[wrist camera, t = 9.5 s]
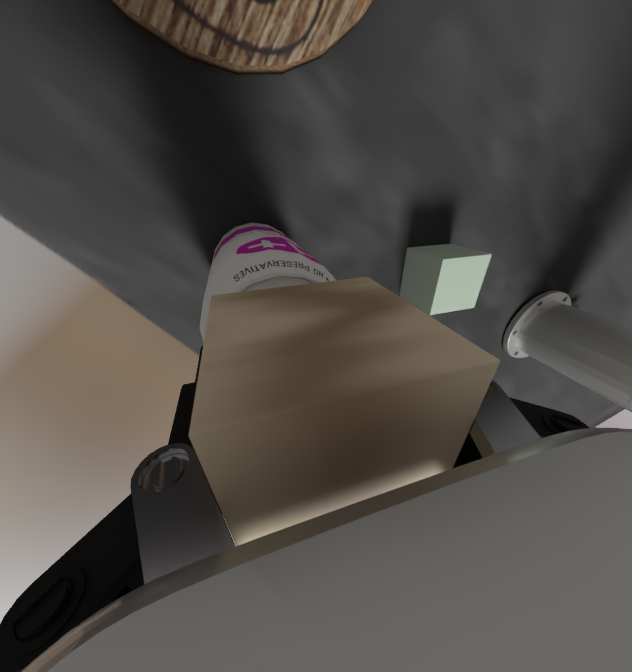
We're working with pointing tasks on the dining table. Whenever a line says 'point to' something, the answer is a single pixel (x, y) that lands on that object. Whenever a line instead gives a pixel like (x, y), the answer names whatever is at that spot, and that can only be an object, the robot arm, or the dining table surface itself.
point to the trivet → (247, 29)
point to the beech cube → (327, 400)
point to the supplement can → (258, 264)
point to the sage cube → (443, 277)
